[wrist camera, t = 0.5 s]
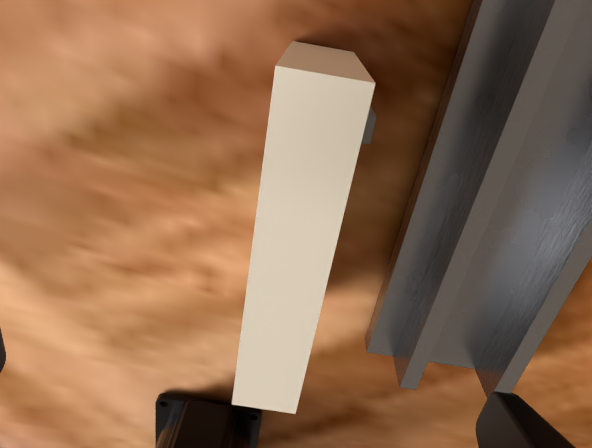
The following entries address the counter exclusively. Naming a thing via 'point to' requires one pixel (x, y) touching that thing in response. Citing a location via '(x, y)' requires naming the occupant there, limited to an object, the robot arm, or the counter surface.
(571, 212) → the track
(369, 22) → the counter surface
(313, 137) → the door panel
